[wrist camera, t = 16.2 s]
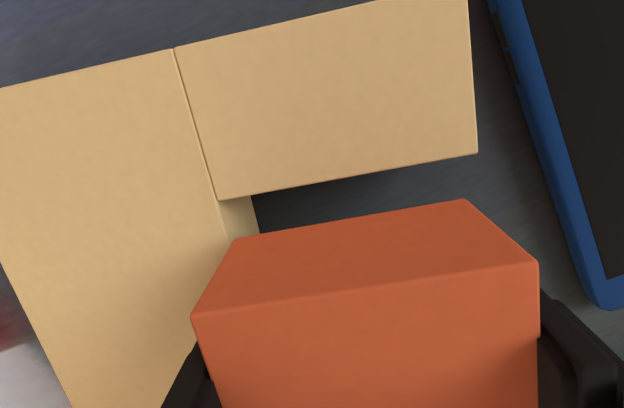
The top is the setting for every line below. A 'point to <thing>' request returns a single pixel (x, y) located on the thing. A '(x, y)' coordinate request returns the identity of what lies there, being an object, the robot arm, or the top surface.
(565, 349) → the robot arm
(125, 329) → the tan u-shaped block
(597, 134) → the cell phone
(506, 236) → the foam block
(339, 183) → the top surface
